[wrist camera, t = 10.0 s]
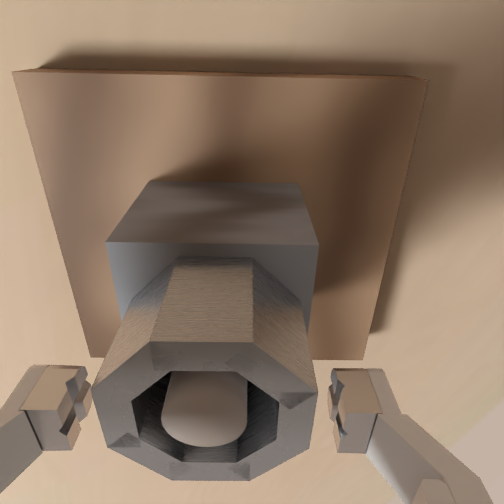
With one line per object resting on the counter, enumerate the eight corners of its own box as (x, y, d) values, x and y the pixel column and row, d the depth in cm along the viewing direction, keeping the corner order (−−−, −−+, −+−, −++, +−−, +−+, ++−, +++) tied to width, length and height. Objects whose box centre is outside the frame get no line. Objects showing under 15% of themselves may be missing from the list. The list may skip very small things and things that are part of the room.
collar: (304, 257, 12) (326, 342, 9) (291, 381, 15) (304, 480, 12) (124, 255, 12) (75, 340, 9) (147, 380, 15) (116, 479, 12)
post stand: (410, 76, 17) (669, 134, 6) (354, 337, 25) (430, 552, 14) (36, 68, 17) (-322, 116, 6) (102, 335, 25) (-7, 551, 14)
